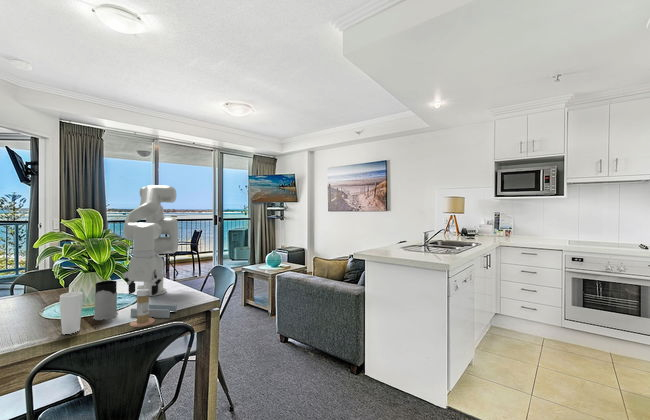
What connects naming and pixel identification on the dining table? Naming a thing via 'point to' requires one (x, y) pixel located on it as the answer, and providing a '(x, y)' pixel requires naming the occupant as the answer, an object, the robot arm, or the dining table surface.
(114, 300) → the glass holder
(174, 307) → the acrylic walls
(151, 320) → the resting disc
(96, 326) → the dining table surface
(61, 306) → the drinking glass
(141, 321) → the sprinkles bottle
